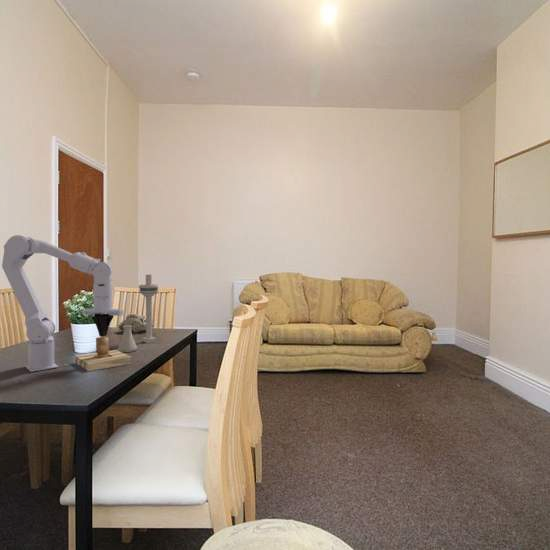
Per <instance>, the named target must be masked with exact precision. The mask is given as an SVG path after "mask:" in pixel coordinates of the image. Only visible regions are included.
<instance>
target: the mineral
mask: <svg viewBox="0 0 550 550" xmlns="http://www.w3.org/2000/svg"><path fill="white" fill-rule="evenodd" d="M126 325H131V326H132V327H131V331H133V333H137V332H138V333H139V332H146V315H145V316H143V315H141V314H139V313H138V314H136V313H129V314H127V315H126V318H125V319H123V321H121V322H120V324H118V329H119V331H121V332H124V328H123V326H126ZM154 326H155V325H154V321H153V320H152V328H153V327H154ZM138 333H137V334H138Z"/></svg>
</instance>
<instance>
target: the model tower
mask: <svg viewBox="0 0 550 550" xmlns="http://www.w3.org/2000/svg"><path fill="white" fill-rule="evenodd" d="M152 282H153V280H152V274H146V275H145V284H139V285H138V288H139V290H138V292H139V294H141V295H142V296H144V298H145V319H146V331H145V336H146V337H142V342H143V343H146V344H150V343H154V342H155V343H156V341H157V340H156V338H157V337H153V327H152V321H153V297H154V296H155V295H156V294H157V293H159V288H160V287H159V284H154V283H152Z"/></svg>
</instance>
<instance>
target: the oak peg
mask: <svg viewBox="0 0 550 550" xmlns="http://www.w3.org/2000/svg"><path fill="white" fill-rule="evenodd" d="M109 344H110V341H109V336H99V337H95V348H96V349H95V350H96V352H95V353H97V358H98V359H100V358H106V357H108V352H109V351H110V345H109Z"/></svg>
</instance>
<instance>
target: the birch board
mask: <svg viewBox="0 0 550 550" xmlns="http://www.w3.org/2000/svg"><path fill="white" fill-rule="evenodd" d="M75 364H77V365H78V366H79V367H81V368H82V369H84V370H85V371H87V372H93V371H98V370H103V369H109V368H115V367H121V366H126V365H131V364H132V356H131V355H128V354H127V353H125V352H120V351H118V349H113V350H109V352H108V357H106V358H100V359H98V358H97V353H96V352H93V353H87V354H80V355H79V354H78V355H75Z"/></svg>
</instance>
